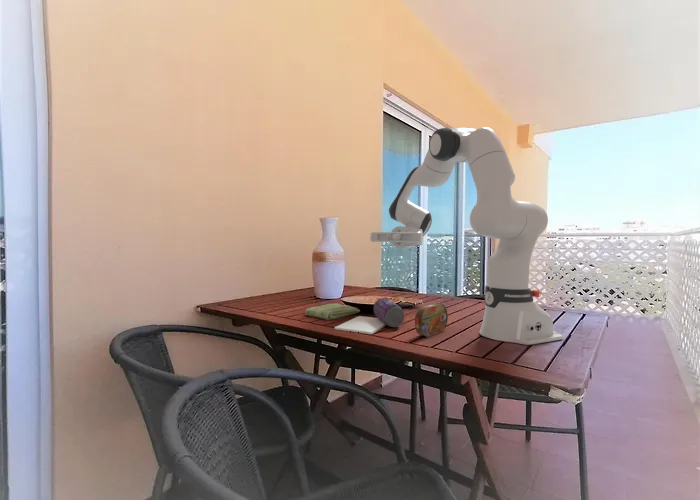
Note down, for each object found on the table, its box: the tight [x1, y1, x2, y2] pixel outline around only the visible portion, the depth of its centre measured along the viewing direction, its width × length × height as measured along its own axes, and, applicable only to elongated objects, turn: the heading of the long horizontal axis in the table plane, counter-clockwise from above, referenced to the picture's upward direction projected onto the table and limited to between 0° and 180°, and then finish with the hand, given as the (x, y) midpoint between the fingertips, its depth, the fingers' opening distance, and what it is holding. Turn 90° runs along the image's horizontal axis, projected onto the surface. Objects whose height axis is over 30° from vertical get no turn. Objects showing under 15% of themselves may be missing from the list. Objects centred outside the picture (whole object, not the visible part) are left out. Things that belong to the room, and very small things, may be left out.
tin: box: [414, 303, 449, 338], centre depth 110 cm, size 15×3×8 cm, turn 137°
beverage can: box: [373, 297, 405, 328], centre depth 121 cm, size 7×7×12 cm
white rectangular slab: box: [334, 315, 387, 335], centre depth 118 cm, size 18×12×1 cm, turn 155°
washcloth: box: [304, 303, 361, 321], centre depth 134 cm, size 13×18×3 cm
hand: (390, 236), depth 138 cm, fingers closed
